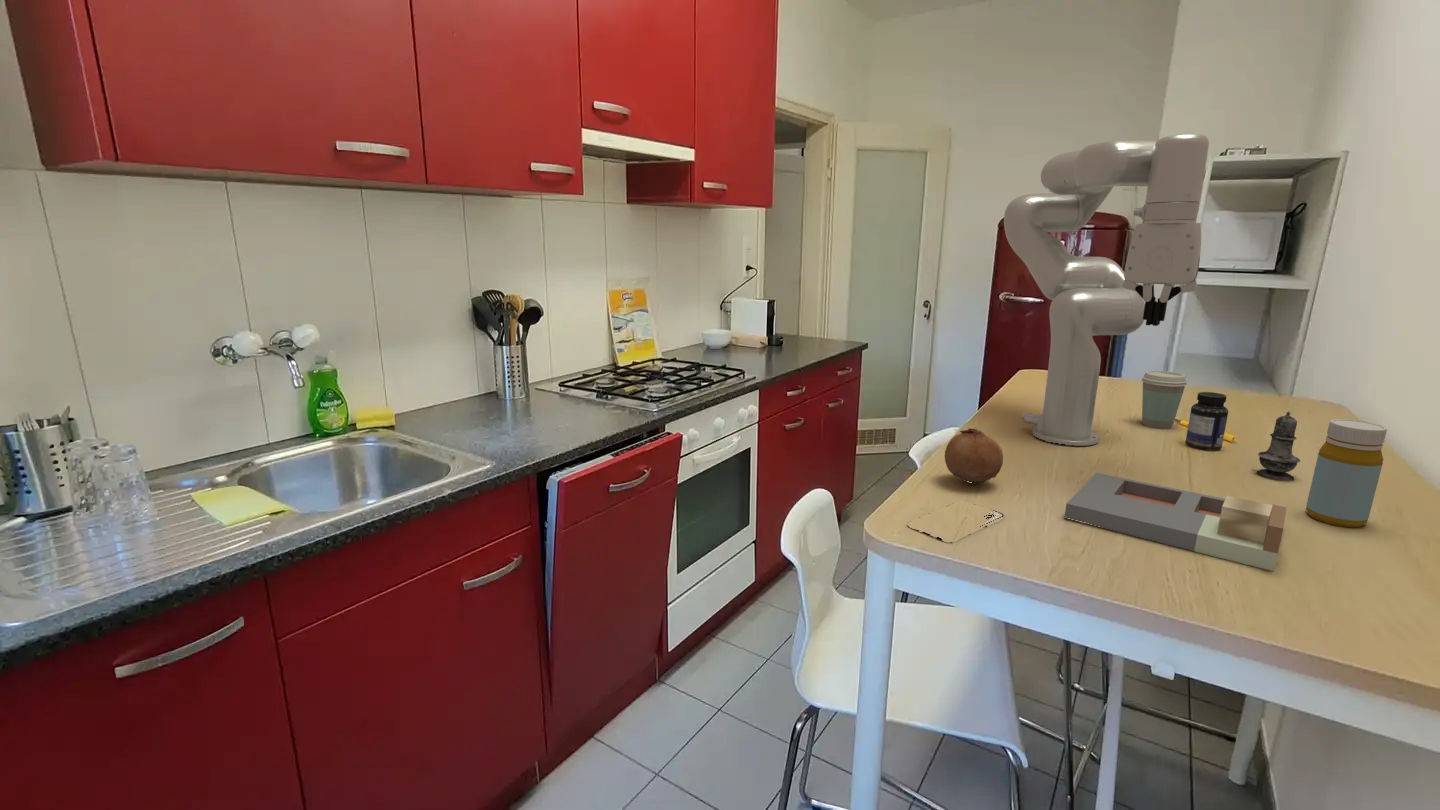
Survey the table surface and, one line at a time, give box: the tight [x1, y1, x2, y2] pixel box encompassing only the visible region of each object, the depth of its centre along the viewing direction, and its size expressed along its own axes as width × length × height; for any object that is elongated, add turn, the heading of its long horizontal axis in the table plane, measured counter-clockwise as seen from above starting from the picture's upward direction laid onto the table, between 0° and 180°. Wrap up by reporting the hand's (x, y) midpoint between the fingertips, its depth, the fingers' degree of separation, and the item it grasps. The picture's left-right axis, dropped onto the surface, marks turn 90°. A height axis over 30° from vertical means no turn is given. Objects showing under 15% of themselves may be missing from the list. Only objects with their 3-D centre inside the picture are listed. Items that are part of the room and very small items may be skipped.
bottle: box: [1305, 418, 1388, 528], centre depth 99 cm, size 7×7×15 cm
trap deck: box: [1064, 472, 1287, 572], centre depth 99 cm, size 25×18×6 cm
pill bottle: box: [1185, 391, 1229, 451], centre depth 134 cm, size 6×6×11 cm
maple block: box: [1217, 495, 1273, 544], centre depth 90 cm, size 5×5×4 cm
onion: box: [944, 427, 1004, 484], centre depth 115 cm, size 10×9×10 cm
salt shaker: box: [1255, 410, 1301, 482], centre depth 118 cm, size 6×6×12 cm
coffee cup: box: [1141, 370, 1188, 430], centre depth 149 cm, size 8×9×12 cm
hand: (1152, 324), depth 115 cm, fingers closed
